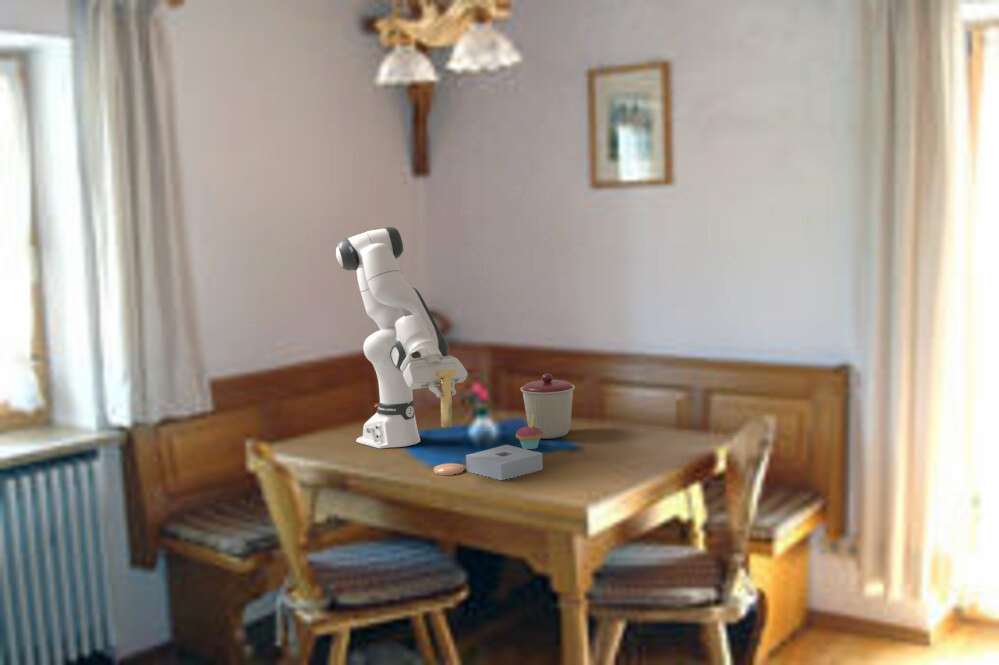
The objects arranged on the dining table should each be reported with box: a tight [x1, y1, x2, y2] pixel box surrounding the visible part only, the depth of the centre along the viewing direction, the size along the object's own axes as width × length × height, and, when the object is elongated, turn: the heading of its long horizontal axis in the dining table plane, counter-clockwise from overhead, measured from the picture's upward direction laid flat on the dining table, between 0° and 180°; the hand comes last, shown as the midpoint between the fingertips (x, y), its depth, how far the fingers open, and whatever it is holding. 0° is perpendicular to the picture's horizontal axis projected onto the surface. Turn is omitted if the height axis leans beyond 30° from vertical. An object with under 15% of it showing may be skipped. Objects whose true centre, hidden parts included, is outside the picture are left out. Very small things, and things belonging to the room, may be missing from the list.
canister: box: [520, 373, 576, 440], centre depth 347 cm, size 18×18×21 cm
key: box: [436, 369, 456, 428], centre depth 305 cm, size 3×6×17 cm, turn 130°
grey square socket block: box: [465, 444, 544, 481], centre depth 307 cm, size 16×16×5 cm
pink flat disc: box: [433, 462, 465, 476], centre depth 310 cm, size 9×9×1 cm
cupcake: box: [515, 412, 543, 450], centre depth 332 cm, size 9×8×12 cm
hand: (447, 395), depth 305 cm, fingers closed on key, 3 cm apart
